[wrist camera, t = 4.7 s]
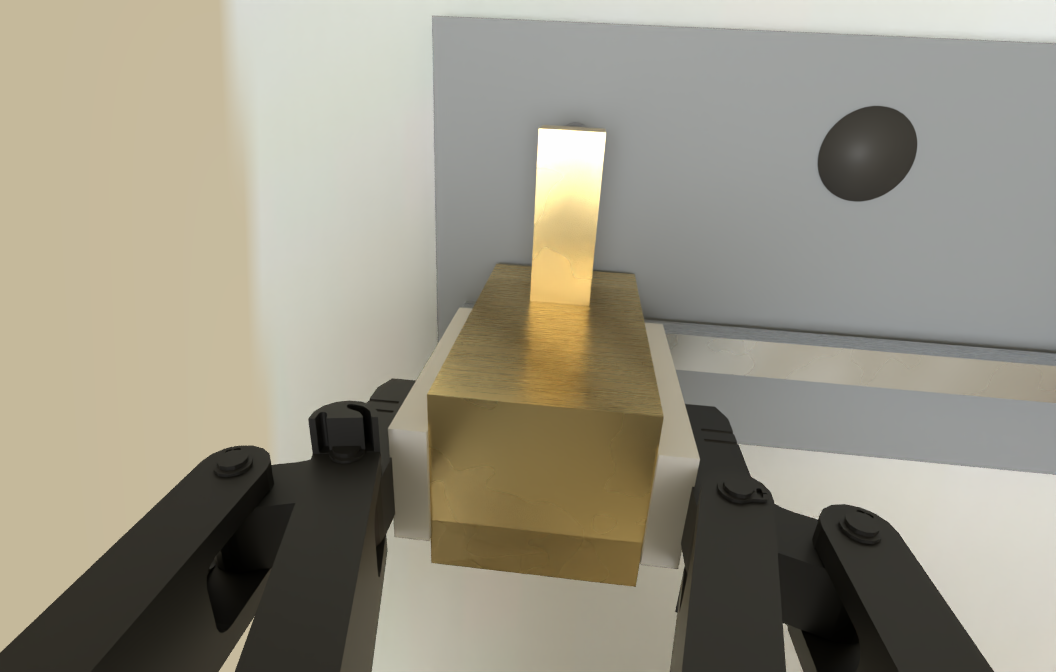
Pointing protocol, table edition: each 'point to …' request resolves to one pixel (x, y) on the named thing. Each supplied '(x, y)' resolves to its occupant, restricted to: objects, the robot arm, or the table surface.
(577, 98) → the flange plate
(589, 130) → the block
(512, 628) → the table surface
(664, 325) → the beam
